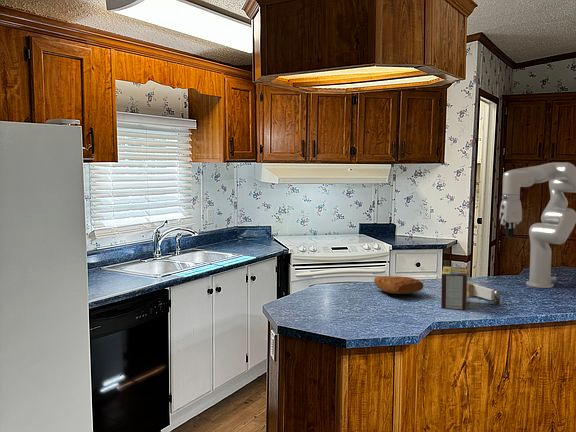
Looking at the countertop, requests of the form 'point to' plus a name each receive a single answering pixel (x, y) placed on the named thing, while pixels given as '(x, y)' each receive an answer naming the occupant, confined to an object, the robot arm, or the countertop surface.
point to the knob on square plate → (497, 299)
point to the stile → (469, 290)
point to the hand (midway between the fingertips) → (509, 236)
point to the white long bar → (483, 292)
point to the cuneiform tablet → (398, 284)
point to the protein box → (454, 288)
